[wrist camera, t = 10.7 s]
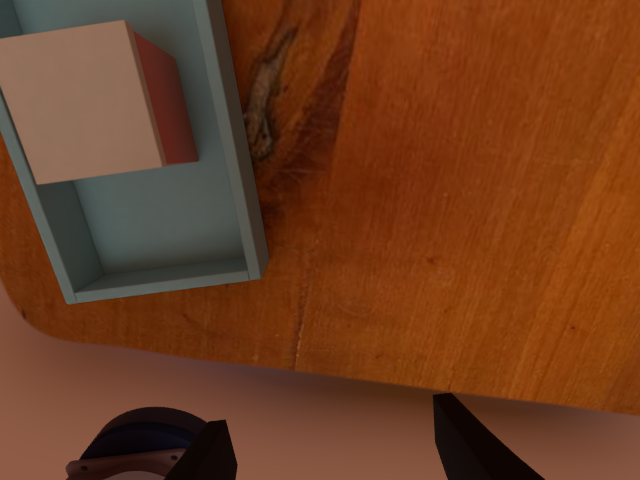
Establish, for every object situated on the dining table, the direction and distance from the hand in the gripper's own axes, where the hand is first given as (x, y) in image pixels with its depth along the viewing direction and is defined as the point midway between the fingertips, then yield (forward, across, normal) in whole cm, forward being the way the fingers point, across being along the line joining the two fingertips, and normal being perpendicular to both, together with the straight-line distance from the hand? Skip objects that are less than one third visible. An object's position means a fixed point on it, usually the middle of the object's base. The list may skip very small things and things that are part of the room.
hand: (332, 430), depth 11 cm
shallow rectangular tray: (+9, +8, -12) cm, 17 cm away
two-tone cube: (+9, +8, -12) cm, 17 cm away
